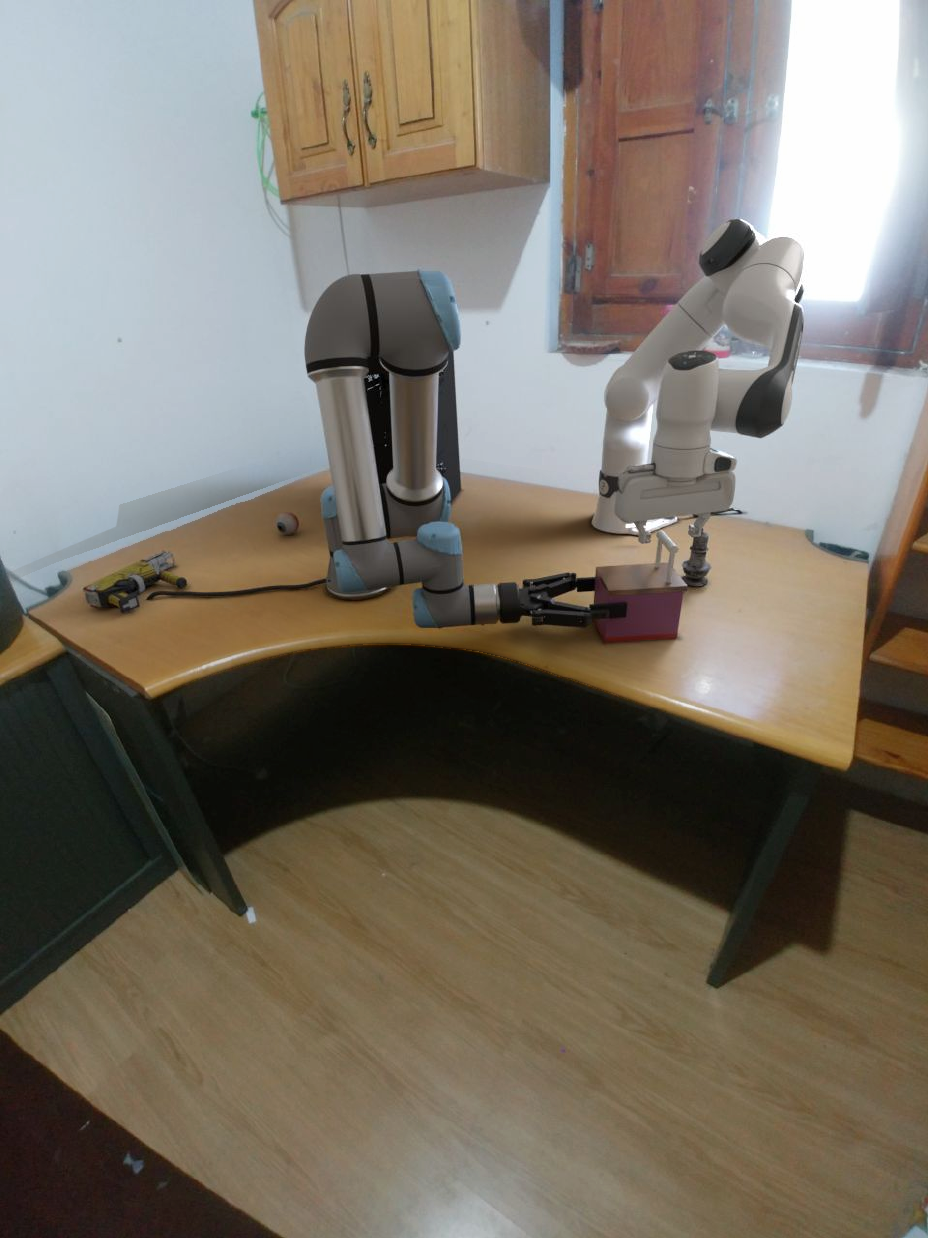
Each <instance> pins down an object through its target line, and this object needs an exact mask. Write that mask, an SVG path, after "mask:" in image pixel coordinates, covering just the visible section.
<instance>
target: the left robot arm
mask: <svg viewBox="0 0 928 1238" xmlns="http://www.w3.org/2000/svg"><path fill="white" fill-rule="evenodd" d="M455 294H456V293H455V291H454V288H453V285H452V282H451V280H450V279H449V277H448V275H447V274H446V273H444V272H443V271H440V270H421V269H417V270H410V271H409V270H408V271H395V272H394V271H393V272H379V273H362V274H360V273H351V274H347V275H345V276H341V277H340V278H338V279H336V280H335V281H333V282H332V283H331V284H329V286H327V287H326V289H325V290H324V291H323V292H322V293H321V295H320V296H319V298H318V299H317V301H316V302H315V305H314V306H313V309H312V311H311V314H310V316H309V319H308V323H307V325H306V332H305V337H304V352H303V353H304V361H305V370H306V375H307V378H309V380H310V381H312V382H313V383H314V384H315V389H316V396H317V401H318V407H319V412H320V417H321V418H320V419H321V424H322V429H323V436H324V441H325V448H326V454H327V460H328V467H329V471H330V477H331V485H329V486H328V487H326V488H325V489H324V490H323V491H322V493H321V495H320V506H321V508H320V509H321V513H320V514H321V517H322V518H323V523H324V529H325V535H326V542H327V548H328V554H329V562H328V568H327V571H326V572H327V574H326V577H325V578H322V579H318V580H314V581H311V582H307V583H302V584H278V585H277V584H275V585H266V586H259V587H253V588H247V589H239V590H227V591H189V590H188V591H187V590H185V591H184V590H177V591H176V590H175V591H174V590H156V591H154V592H151V593H150V594H149V595H147V597H146V600H145V601H151V600H153V599H154V598H156V597H158V596H169V597H171V596H175V597H178V596H179V597H181V596H185V597H187V596H188V597H202V598H203V597H206V598H207V597H228V596H230V597H231V596H240V595H241V596H242V595H249V594H254V593H262V592H268V591H278V590H279V591H281V590H302V589H308V588H312V587H315V586H318V585H322V584H323V585H324V584H326V590H327V593H328V594H329V595H330V596H332V597H333V598H336V599H339V600H345V601H362V600H363V601H364V600H368V599H373V598H376V597H379V596H382V595H383V594H385V593H387V592H389V591H390V590H391V589H393V588H394V587H397V586H403V585H404V586H405V585H411V584H419V583H421V587H418V588H417V587H416V588H415V589H414V590H413V591H412V608H413V618H414V620H413V621H414V624H415V625H416V626H417V627H418V628H420V629H439V630H440V629H442V628H452V627H453V628H454V627H465V626H466V627H467V626H486V625H496V624H498V621H499V623H500V624H517V623H520V621H521V618H522V617H530V618H531V625H532V626H533V627H538V626H555V627H568V628H579V629H581V628H582V629H587V628H589V626H590V625H591V621H592V620H593V621H595V619H609V618H624V617H626V613H627V603H626V602H619V603H603V604H594V603H591V604H589V606H584V605H578V604H574V603H573V604H572V603H569V602H562V601H557V600H555V599H554V598H556V597H559V596H562V595H565V594H567V593H568V594H569V593H570V592H573V591H575V590H576V592H577V593H588V592H594V589H595V576H588V577H577V573H576V572H563V573H558V574H553V575H552V574H551V575H547V576H542V577H537V578H526V579H523V580H522V587H519V583H517V582H516V581H509V582H508V581H507V582H499V583H498V584H497V585H495V583H493V582H491V583H490V582H489V583H477V584H465V581H464V561H463V560H464V559H463V558H464V555H463V553H464V549H463V545H462V537H461V531H460V529H459V528H458V526H457V525H456V524H454V523H452V522H450V517H451V512H452V505H451V504H450V501H451V496H450V489H449V486H448V483H447V481H446V479H445V478H444V477H442V476H441V474H440V472H439V471H438V470H437V469H436V448H437V413H438V379H439V373H440V372H441V371H442V370H443V369H444V368H445V367H446V365H447V363H448V351H451V352H453V351H454V352H455V351H457V350H459V348H460V346H461V342H462V331H461V322H460V315H459V308H458V303H457V299H456V295H455ZM367 357H379V360H380V363H381V365H382V366H383V367H384V368H385V369H386V370H387V371H388V372H389V380H390V403H391V426H392V448H393V469H392V470H391V471H390V472H389V474H388V476H387V483H385V484H379V481H378V474H377V468H376V461H375V454H374V447H373V446H374V445H373V440H372V433H371V427H370V420H369V413H368V406H367V399H366V392H365V385H364V378H365V376H366V375H367V373H368V372H369V369H368V362H367ZM442 372H443V371H442ZM411 536H416V538H414V539H413V538H412V539H406V540H400V541H399V540H398V541H392V542H388V539H396V538H405V537H411Z"/></svg>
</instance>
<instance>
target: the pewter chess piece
mask: <svg viewBox="0 0 928 1238" xmlns="http://www.w3.org/2000/svg"><path fill="white" fill-rule="evenodd" d="M692 538H693V539H692V545H691V546H690V547H689V549H690V556H689V558H688V559H685V560H684V561H683V562H682V563H681V566H682V570H683V573H684V575H683V576H681V578H682V579H683V581H684V582H685V583H686V584H687V586H692V587H702V586H705V585H707V584H708V579H707V578H706V576H707V575H708V574H709V572H710V571H711V569H712V565H711V563H709V561H706V558H707V552H709V548H708V543H709V534H708V533H707V532H706V531H705V529H704V527H702V531H701V536H697V537H692Z"/></svg>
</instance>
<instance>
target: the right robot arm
mask: <svg viewBox="0 0 928 1238" xmlns="http://www.w3.org/2000/svg"><path fill="white" fill-rule="evenodd" d="M698 257H699V258H698V265H699V267H700V269H701V271H702V272H703V274H704V276H703V277H702V278H701V279H700V280H698V281H697V282H696V283H695V284H694V285H693V286H692V287H691V288H690V289H689V290H687V292H686V293H684V295H683V296H682V297H681V298H680V299H679V300H678V301H677V302H676V303H675V304H674V306H673V307H672V308H671V309H670V311H668V312H667V314H666V315H665V316H664V317H663V318H662V319H661V320H660V321H659V322H658V323H657V325H656V326H655V327H654V328H653V329H652V331H651V332H650V333H649V334H648V335H647V336H646V337H645V339H644V340H643V341H642V342H641V343H640V344H639V346H638V347H637V348H636V350H635V351H634V352H633V353H632V354H631V355H630V356H629V357H628V359H626V361H625V362H624V363H623V364H621V365H620V366H619V367H618V368H617V369H615V371H614V372H613V373H612V375H611V377H610V378H609V380H608V382H607V384H606V386H605V389H604V393H603V402H604V406H605V408H606V415H605V421H604V422H605V423H604V432H603V440H602V453H601V468H600V470H599V474H598V492H599V493H598V498H597V502H596V507H595V511H594V514H593V517H592V520H591V525H592V526H593V527H594V528H595V529H597V530H599V531H601V532H605V533H611V534H623V535H625V534H626V535H632V536H633V535H634V536H638V539H637V541H638V542H639V543H640V544H641V545H645V544H651V539H652V532H654V531H657V530H661V529H662V528H665V527H668V526H670V525H672V524H675V523H677V522H678V517H683V516H690V515H691V516H693V517H695V518H696V519H695V520H694V522H693V523H692V524H689V525H688V531H687V532H688V533H687V535H689V537H691V538H694V537H697V536H701V531H702V528H704V526H705V525H706V524H707V522H708V521H709V519H710V518H711V515H718V514H724V513H728V512H736V513H738V514H740V515H741V514H744V512H743V511H742V510H740V509H739V510H734V509H733V508H734V507H731V506H733V503H734V498H735V492H736V482H737V481H736V474H735V472H733V471H734V470H736V467H737V462H738V460H737V458H736V457H734V456H732V455H730V454H728V453H726V452H724V451H722V450H720V449H719V450H718V449H715V448H712V447H711V444H712V437H711V432H718V433H719V432H720V433H731V434H737V435H738V434H739V435H740V436H741V435H742V436H747V437H752V438H756V439H764V438H765V437H767V436H769V435H771V434H773V433H775V432H776V431H778V430H779V429H780V428H781V427H783V426H784V424H785V422H786V420H787V418H788V417H789V414H790V410H791V407H792V402H793V401H792V400H793V383H794V378H795V374H796V369H797V364H798V360H799V354H800V350H801V345H802V338H803V332H804V325H805V324H804V322H805V316H804V308H803V306H802V305H801V304H799V303H800V302H801V301H802V299H803V296H804V295H805V291H806V285H805V283H804V275H805V274H804V273H805V271H806V266H807V251H806V250H805V246H804V245H803V244H802V243H801V242H800V240H799V239H797V238H795V237H792V236H788V235H776V236H773V237H770V238H768V239H766V238H765V237H764V236H763V235H762V234H760V233H759V232H757V231H756V230H755V228H754V226H753V225H752V224H750V223H749V222H747V221H745V220H743V219H741V218H732V219H729V220H727V221H726V222H725V223H723V224H722V225H720V226H719V227H717V228H716V229H715V230H714V231H713V232H712V233H711V234H710V235H708V238H707V239H706V241H705V243H704V245H703V246H702V249H701V250H700V252H699V256H698ZM725 325H726V327H727V329H728V331H729V332H730V333H731V334H732V335H733V336H734V337H735V338H737V339H738V340H740V341H742V342H745V343H748V344H752V345H756V346H760V347H763V348H765V349H768V350H769V351H770V355H769V359H768V363H767V366H766V367H763V368H759V369H732V368H730V369H729V368H726V369H725V368H720V366H719V365H720V363H719V357H718V355H717V354H715V352H711V351H708V350H703V349H704V348H705V347H706V346H707V345H708V344H709V343H710V342H711V341H712V340H713V339H714V338H715V337H716V336H717V335H718V334H719V332H720V331H722V329H723V328H724V326H725ZM655 403H656V412H655V417H656V425H657V426H656V431H655V434H654V436H653V440H652V448H651V449H652V450H651V459H650V463H648V458H649V457H648V456H649V447H650V440H651V428H652V419H653V411H654V404H655Z"/></svg>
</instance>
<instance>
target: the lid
mask: <svg viewBox="0 0 928 1238" xmlns="http://www.w3.org/2000/svg"><path fill="white" fill-rule="evenodd" d="M655 536H656V538H657V546H656V553H655V562H652V563H636V564H620V565H604V566H596V567H595V574H597V576H598V577H599V579H600V581H601V583H602V585H603V587H604V589H605V591H606V592H607V594H608V596H621V595H637V594H653V593H669V592H683V593H685V592H687V591H688V588H689V585H687V584H686V583H685V582H684V581H683V579H682V576H681V575H680V574H679V573H678V572H677V570H676V569H675V568H674V564H675V556H676V554H677V553H678V552H679V547H678V546H677V544H676V543H674V541H673V540H672V539H671V538H670V537H669V535H668V534H667V533H666V532H665V531H664V530H662V529H659V530H658V531H657V532H656V534H655ZM663 546H664V547H665V549H666V550H667V551H668V552H669V557H668V562H661V559H662V552H663V550H662V549H663Z"/></svg>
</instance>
